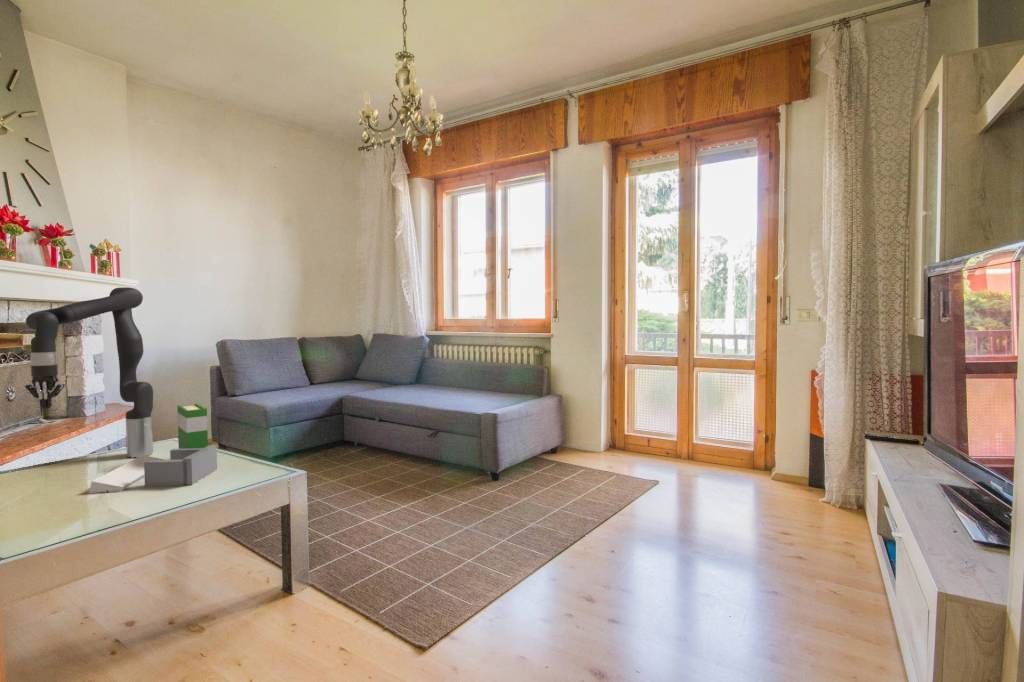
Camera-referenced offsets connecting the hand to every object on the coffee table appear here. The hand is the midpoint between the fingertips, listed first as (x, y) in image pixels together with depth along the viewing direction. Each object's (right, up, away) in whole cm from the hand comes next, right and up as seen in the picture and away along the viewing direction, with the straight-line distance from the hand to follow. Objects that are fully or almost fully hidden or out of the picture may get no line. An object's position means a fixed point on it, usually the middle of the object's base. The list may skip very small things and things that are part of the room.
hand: (46, 408), depth 194 cm
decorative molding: (+32, -28, +2) cm, 42 cm away
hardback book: (+43, -26, +22) cm, 55 cm away
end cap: (+51, -27, +1) cm, 58 cm away
